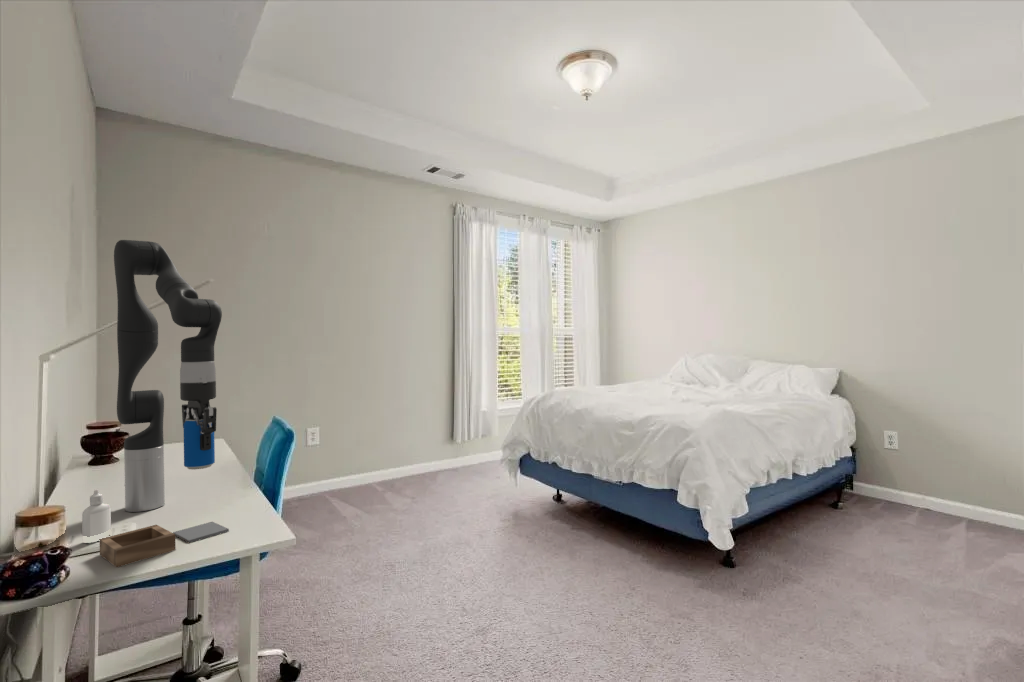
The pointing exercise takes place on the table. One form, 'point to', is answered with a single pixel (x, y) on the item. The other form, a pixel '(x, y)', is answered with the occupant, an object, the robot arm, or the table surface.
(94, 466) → the table surface
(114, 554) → the walnut collar
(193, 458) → the beverage can
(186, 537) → the rubber mat
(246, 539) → the table surface
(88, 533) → the eye dropper bottle
